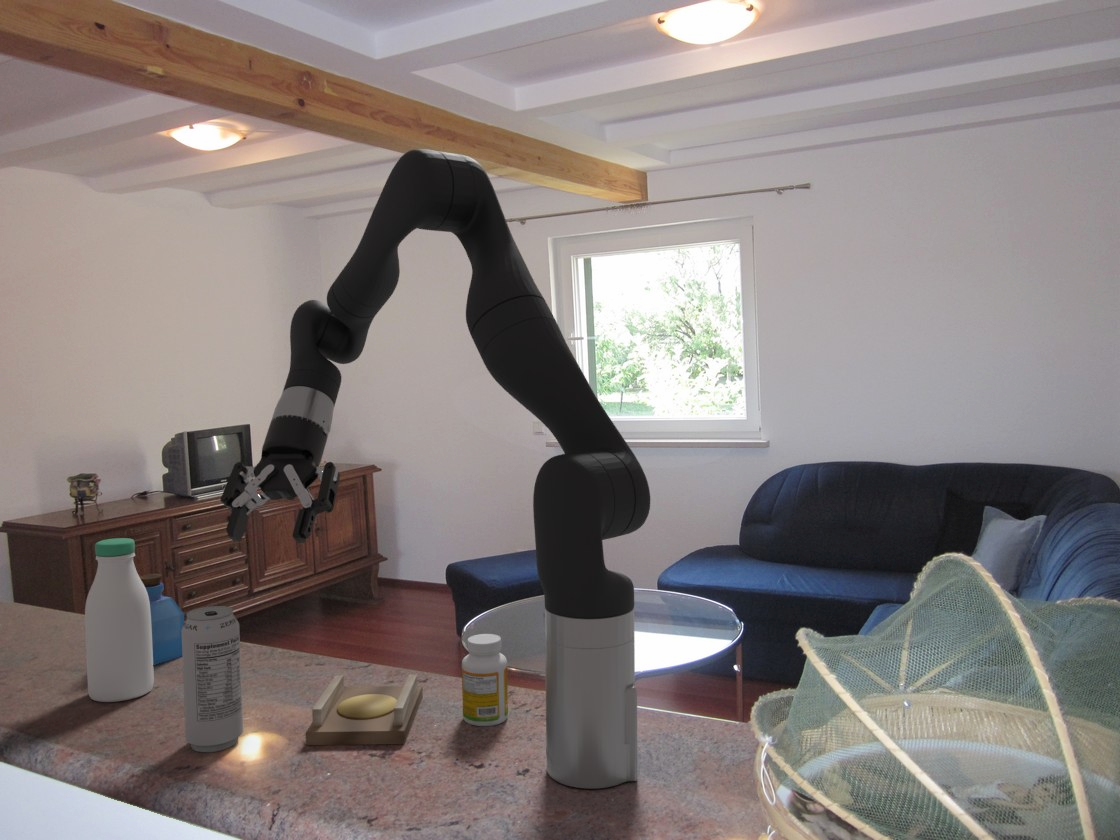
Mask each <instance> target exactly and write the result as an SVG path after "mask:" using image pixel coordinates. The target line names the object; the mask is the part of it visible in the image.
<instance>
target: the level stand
mask: <svg viewBox="0 0 1120 840" xmlns="http://www.w3.org/2000/svg"><path fill="white" fill-rule="evenodd" d="M344 680H345V679H344V674H343V675H334V677H333V678H332V679H331V681H330V683H329V684H328V686H327V687H326V689H324V691H323V693H322V694H321V696H320V697H319V699H318V700H317V702H316V703H315V704H314V706H313V707H312V709H311V713H312V714H311V715H312V716H311V717H312V722H311V723H310V725H309V726H308V727H307V729H306V730H305V745H306V746H333V745H334V746H335V745H337V746H340V745H341V746H342V745H343V746H346V745H347V746H348V745H352V746H353V745H405V744H406V742H407V739H408V737H409V735H410V731H411V728H412V727H413V723H414V721H415V718H416V716H417V713H418V711H419V708H420V705H421V702H422V700H423V696H424V695H423V694H424V692H423V691H424V689H423V688H424V687H423V685H418V674H416V673H415V674H408V676H407V678H406V681H405V683H404V685H380V686H379V685H375V686H372V685H370V686H368V685H367V686H360V685H359V686H344V685H345V682H344Z"/></svg>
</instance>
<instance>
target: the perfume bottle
mask: <svg viewBox="0 0 1120 840" xmlns="http://www.w3.org/2000/svg"><path fill="white" fill-rule="evenodd" d="M162 576H163V575H162V573H161V574H160V573H149V574H148V573H147V574H143V575H139V577H140V579H141V581H142V583H143V584H144V586H145V588H146V591H147V593H148V597H149V602H150V612H151V627H152V648H153V665H154V666H157V665H159V663H160V664H162V662H163V663H166V662H169V661H172V660H176V659H178V658H181V657H182V632H181V630H182V628H183V626H184V624H185V613H184V612H183V611H182V609H181V608H180V606H179V605H178V604H177V602H176V601H175V600H174V598H173V597H170V596H165V595H162V592H163V591H164V583H163V582H162ZM182 658H183V657H182ZM156 664H157V665H156Z"/></svg>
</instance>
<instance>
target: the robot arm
mask: <svg viewBox="0 0 1120 840" xmlns="http://www.w3.org/2000/svg"><path fill="white" fill-rule="evenodd" d="M416 229H418V230H425V231H434V232H444V233H445V232H446V233H447V232H448V233H452V234H453V235H455V237H456V238H457V239H458V241H459V242H460V243H461V245H462V247H463V249H464V251H465V252H466V253H465V254H466V255H467V257H468V260H469V262H470V266H471V280H470V283H469V288H468V291H467V292H468V293H467V299H466V305H465V320H466V321H465V322H466V326H467V329H468V332H469V334H470V336H471V339H472V341H473V343H474V344H475V348H476V349H477V351H478V353H479V355H480V358H481V359H482V362H483V364H484V366H485V368H486V370H487V371H488V373H489V374H490V375H491V377H492V379H494V380H495V381H496V383H497V384H498V385H499V387H501V388H502V389H503V390H504V391H505V392H507V394H508V395H509V396H511V397H512V398H513V399H515V400H516V401H517V402H518V403H519V404H520V405H521V406H523V407H524V408H525V409H527V410H528V411H529V412H530V413H531V414H532V415H533V416H534V417H536V418H537V419H538V420H539V421H540V422H541V423H542V424H543V425H544V426H545V427H546V428H547V429H548V430H549V432H551V434H552V435H553V436H554V437H553V438H555V439H556V441H557V442H558V444H559V446H560V448H561V449H562V451H563V453H562V454H557V455H554V456H552V457H550V458H549V459H547V460H546V461H545V462H544V463H543V464H542V466H541V467H540V468H539V471H538V473H537V475H536V478H535V482H534V487H533V488H534V489H533V496H532V499H533V500H532V501H533V502H532V505H533V506H532V507H533V509H532V510H533V526H534V541H535V555H536V556H535V557H536V571H537V577H538V580H539V583H540V586H541V588H542V590H543V595H544V631H545V632H544V636H545V637H544V643H545V645H544V647H545V648H544V652H545V653H544V654H545V655H544V656H545V665H544V666H545V667H544V668H545V735H546V737H545V739H546V743H545V745H546V746H545V755H546V772H547V774H548V775H549V776H550V777H551V779H553V780H554V781H556V782H557V783H559V784H562V785H565V786H568V787H571V788H572V787H574V788H576V789H577V788H578V789H590V790H591V789H605V788H610V787H614V786H618V785H620V784H623V783H626V782H637V781H638V777H639V776H638V689H637V684H636V679H635V677H636V676H635V673H636V672H635V669H636V668H635V665H636V664H635V662H636V661H635V659H636V658H635V657H636V656H635V585H634V583H633V581H632V579H631V578H630V577H629V576H627V575H625V574H623V573H620V572H618V571H613V570H610V569H608V568H607V567H606V563H605V557H604V545H603V540H604V541H605V540H609V539H614V538H617V537H621V536H626V535H629V534H631V533H634V532H637V531H638V530H639V529H641V527H642V526H644V525H645V522H646V521H647V518H648V517H649V513H650V511H651V510H650V509H651V492H650V491H651V490H650V486H649V482H648V479H647V476H646V475H645V472H644V469H643V467H642V466H641V463H640V462H639V460H638V459H637V457H636V455H635V453H634V451H633V450H632V449H631V447H630V446H629V444H628V443H627V441H626V439H625V438H624V437H623V435H622V434H621V432H620V431H619V429H618V428H617V426H616V425H615V423H614V422H613V421H612V419H611V418H610V416H609V415H608V413H607V412H606V410H605V409H604V407H603V405H602V404H601V402H600V401H599V399H598V397H597V396H596V394H595V393H594V390H593V389H592V387H591V385H590V383H589V382H588V380H587V378H586V376H585V374H584V372H583V370H582V369H581V367H580V365H579V364H578V362H577V359H576V358H575V356H574V355H573V353H572V351H571V349H570V347H569V346H568V344H567V342H566V339H565V338H564V335H563V333H562V330H561V329H560V326H559V324H558V321H556V318H555V316H554V315H553V313H552V311H551V309H550V307H549V304H548V303H547V301H546V299H545V298H544V296H543V294H542V293H541V291H540V290H539V288H538V286H537V284H536V283H535V279H533V276H532V274H531V273H530V271H529V268H528V266H527V264H526V262H525V260H524V258H523V256H522V254H521V251H520V250H519V248H518V246H517V244H516V242H515V239H514V237H513V234H512V232H511V229H510V228H509V225H508V222H507V219H506V216H505V215H504V212H503V209H502V206H501V203H500V200H499V198H498V195H497V194H496V190H495V189H494V185H493V183H492V181H491V180H490V177H489V174H488V173H487V172H486V170H485V169H484V167H483V166H482V165H481V163H480V162H478V161H477V160H475V159H474V158H472V157H470V156H467V155H464V154H459V153H452V152H446V151H439V150H433V149H428V148H426V149H425V148H414V149H410V150H408V151H407V152H405V153H404V154H403V155H402V156H401V157H400V158H399V159H398V160H397V162H396V163H395V165H394V167H393V168H391V172H390V174H389V175H388V177H387V179H386V181H385V184H384V186H383V188H382V190H381V193H380V194H379V197H378V200H377V201H376V204H375V206H374V208H373V210H372V213H371V215H370V217H369V219H368V223H367V225H366V228H365V230H364V232H363V235H362V236H361V239H360V241H359V244H358V245H357V248H356V249H355V251H354V252H353V254H352V255H351V257H350V259H349V260H348V262H346V265H345V266H344V267H343V269H342V270H341V271H340V273H339V274H338V275H337V277H336V278H335V280H334V281H333V283H332V284H331V285H330V287H329V289H328V291H327V294H326V303H325V302H323V301H320V300H318V299H311V300H306V301H305V302H303V303H301V304H300V305H299V306H298V307H297V309H296V310H295V312H294V313H293V316H292V318H291V322H290V323H291V324H290V328H289V330H290V332H289V341H290V342H289V343H290V344H289V345H290V362H289V372H288V375H287V378H286V381H285V384H284V386H283V390H282V393H281V396H280V398H279V399H278V402H277V403H276V406H275V408H274V410H273V413H272V414H273V415H272V416H271V417H272V418H271V420H270V423H269V427H268V429H267V432H266V435H265V439H264V442H263V445H262V447H261V455H260V457H261V458H260V460H259V462H258V463H257V464H256V465H255V466H250V465H249V466H248V465H247V466H246V465H245V464H244V463H243V462H242V461H238V462H236V463H235V464H233V468H232V470H231V472H230V475H229V477H228V479H227V482H226V484H225V487H224V490H223V492H222V494H221V497H220V502H221V503H222V504H223V505H224V506H225V508H227V509H228V510H229V511H230V513H231V514H230V516H229V519H228V522H227V526H226V528H225V529H226V533H227V535H228V537H229V538H230V539H231V540H232V541H233V542H234V543H240V542H242V540H243V537H244V533H245V530H246V528H247V524H248V521H249V517H250V516H249V514H250V513H251V512H253V511H254V510H255V509H256V508H257V507H261V506H263V505H265V503H267V501H269V500H271V501H278V500H282V499H283V500H287V501H294V500H295V499H296V498H298V500H299V501H300V503H301V505H302V508H300V509H299V511H298V513H297V518H296V520H295V524H294V528H293V532H292V537H293V540H295V541H296V543H298V544H305V542H306V540H307V539H309V538H310V537H311V534H312V532H313V527H314V524H315V520H316V517H318V515H319V514H321V513H322V514H323V513H324V512H325V513H328V514H329V513H332V512H333V511H334V509H335V504H336V499H337V494H338V488H339V482H340V478H341V473H340V471H339V469H338V467H336V465H335V464H334V463H333V462H332V461H328V462H326V463H325V464H324V466H323V465H322V466H320V464H321V462H322V458H323V455H324V452H325V447H326V444H327V440H328V439H329V438H328V437H329V433H331V429H332V428H331V426H332V424H333V423H332V422H333V417H334V409H335V405H336V402H337V399H338V396H339V392H340V389H341V384H342V373H341V370H340V369H339V368H338V367H337V365H336V364H335V363H337V364H340V365H346V364H350V363H351V364H352V363H353V362H354V361H356V360H357V359H359V358H360V356H361V354H362V353H363V350H364V348H365V345H366V341H367V337H368V333H369V329H370V327H371V324H372V322H373V320H374V318H375V317H376V316H377V314H378V313H379V312H380V310H382V308H383V306H384V305H385V304H386V303H387V302H388V300H389V299H390V298H391V297H392V295H393V294H394V292H395V290H396V288H397V285H398V282H399V280H400V279H399V278H400V259H399V252H398V250H399V246H400V244H401V243H402V242H403V241H404V240H405V238H406V237H407V236H408V235H410V234H411V233H412V232H413V231H415V230H416ZM318 478H319V480H320V485H319V490H318V495H317V498H315V499H314V496H312V494H311V491H310V490H309V487H310V486H311V485H313V484H314V483H315V482H316V481H317V480H318ZM259 489H260V490H261V492H260V493H259V494H258V493H257V490H259Z"/></svg>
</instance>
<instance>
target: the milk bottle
mask: <svg viewBox="0 0 1120 840" xmlns="http://www.w3.org/2000/svg"><path fill="white" fill-rule="evenodd" d="M135 542H136V541H135V540H134V539H132V538H130V537H129V538H127V537H121V538H120V537H117V538H116V537H115V538H108V539H103V540H100V541H97V542H96V543H95V545H94V551H95V552H94V554H95V555H96V556H95V560H96V561H97V569H96V572H95V573H96V574H95V576H94V580H93V582H92V584H91V587H90V589H89V592H88V593H87V597H86V601H85V607H84V608H85V609H84V628H85V629H84V630H85V634H84V635H85V654H86V655H85V656H86V674H87V675H86V676H87V677H86V678H87V690H88V691H87V693H88V696H89V698H90V699H91V700H92V701H95V702H99V703H101V702H102V703H116V702H122V701H123V702H124V701H128V700H133V699H137V698H140V697H142V696H144V695H146V694H148V693H149V692H151V691H152V689H153V688H154V684H155V680H154V678H155V677H154V676H155V674H154V673H155V672H154V666H153V648H152V627H151V612H150V602H149V597H148V593H147V591H146V588H145V586H144V584H143V583H142V581H141V579H140V577H139V576H140V575H139V574H138V571H137V569H136V566H135V562H134V557H136V553H135V550H136V544H135Z"/></svg>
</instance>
